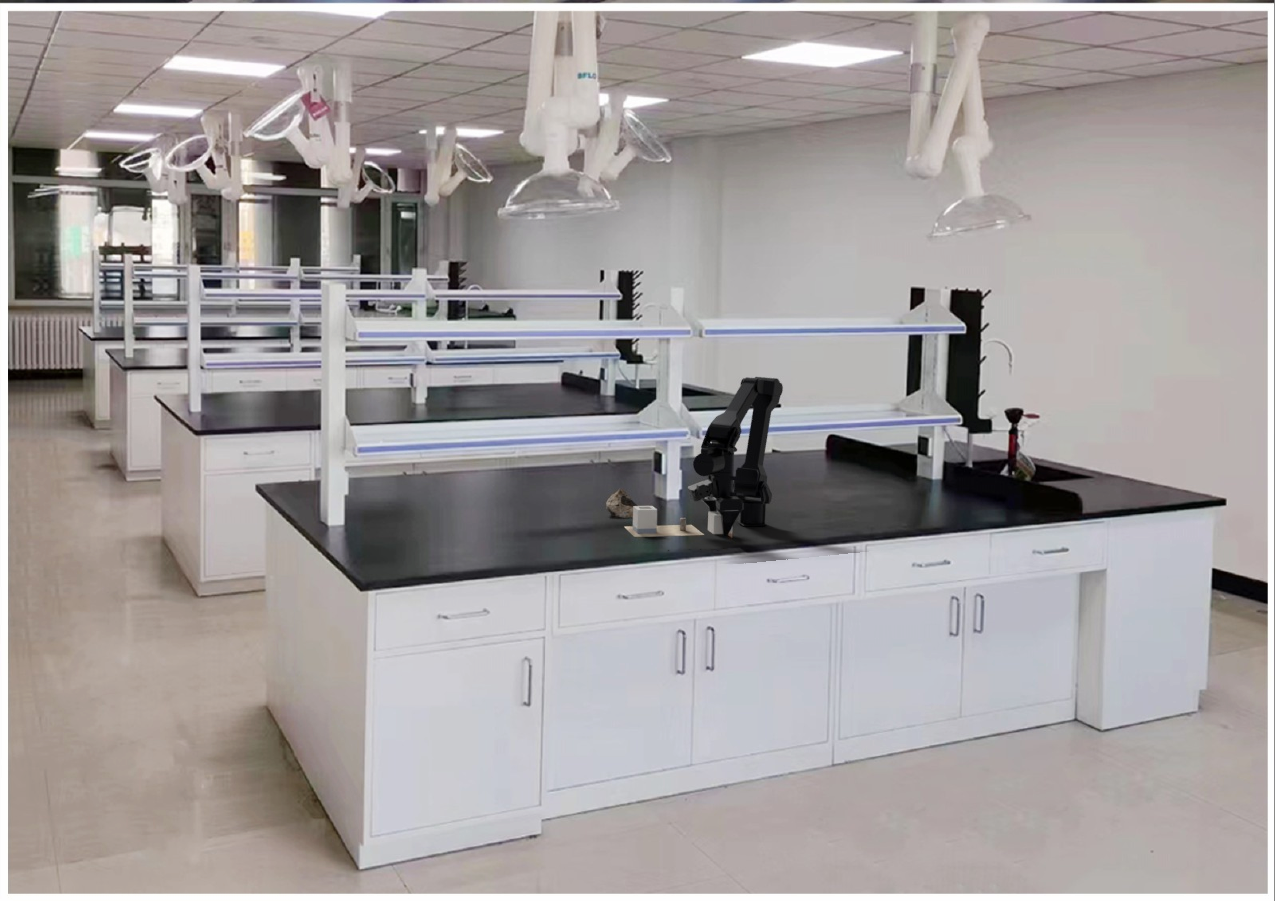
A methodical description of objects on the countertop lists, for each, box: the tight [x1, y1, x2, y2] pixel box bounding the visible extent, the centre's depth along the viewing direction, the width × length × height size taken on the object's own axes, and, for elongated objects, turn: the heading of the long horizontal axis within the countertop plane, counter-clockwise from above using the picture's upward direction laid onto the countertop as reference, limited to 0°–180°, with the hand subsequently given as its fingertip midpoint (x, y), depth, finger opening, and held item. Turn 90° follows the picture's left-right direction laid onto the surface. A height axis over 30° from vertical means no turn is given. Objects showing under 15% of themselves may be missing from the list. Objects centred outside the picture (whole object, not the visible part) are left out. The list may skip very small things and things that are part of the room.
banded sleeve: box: [707, 510, 734, 538], centre depth 323 cm, size 5×5×6 cm
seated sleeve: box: [632, 505, 658, 534], centre depth 321 cm, size 5×5×6 cm
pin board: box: [624, 517, 705, 538], centre depth 323 cm, size 18×12×4 cm, turn 104°
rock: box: [605, 488, 639, 519], centre depth 341 cm, size 9×7×10 cm
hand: (720, 531), depth 323 cm, fingers open, 9 cm apart
